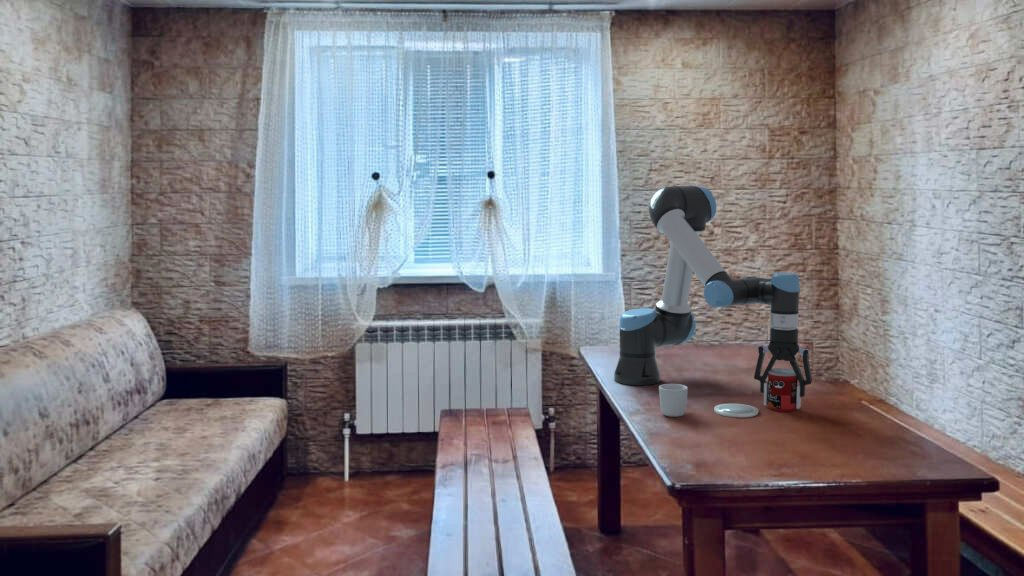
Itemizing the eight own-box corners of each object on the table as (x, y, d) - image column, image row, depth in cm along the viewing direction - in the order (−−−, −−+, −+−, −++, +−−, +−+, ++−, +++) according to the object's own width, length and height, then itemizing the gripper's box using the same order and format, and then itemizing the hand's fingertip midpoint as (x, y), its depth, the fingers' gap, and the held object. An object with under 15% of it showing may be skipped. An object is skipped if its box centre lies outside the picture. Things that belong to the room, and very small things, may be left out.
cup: (669, 407, 238) (669, 380, 237) (695, 411, 233) (696, 383, 232) (653, 415, 229) (654, 387, 228) (680, 420, 224) (681, 391, 223)
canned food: (763, 405, 238) (764, 368, 237) (789, 404, 239) (790, 367, 238) (773, 412, 231) (774, 374, 229) (801, 411, 231) (802, 373, 230)
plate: (709, 414, 230) (709, 411, 229) (719, 404, 240) (720, 401, 240) (753, 419, 224) (753, 416, 224) (761, 409, 234) (762, 406, 234)
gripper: (743, 327, 234) (741, 404, 236) (821, 332, 224) (819, 413, 227) (749, 323, 240) (747, 398, 243) (825, 328, 230) (822, 406, 233)
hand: (782, 405), depth 235 cm, fingers open, 8 cm apart
